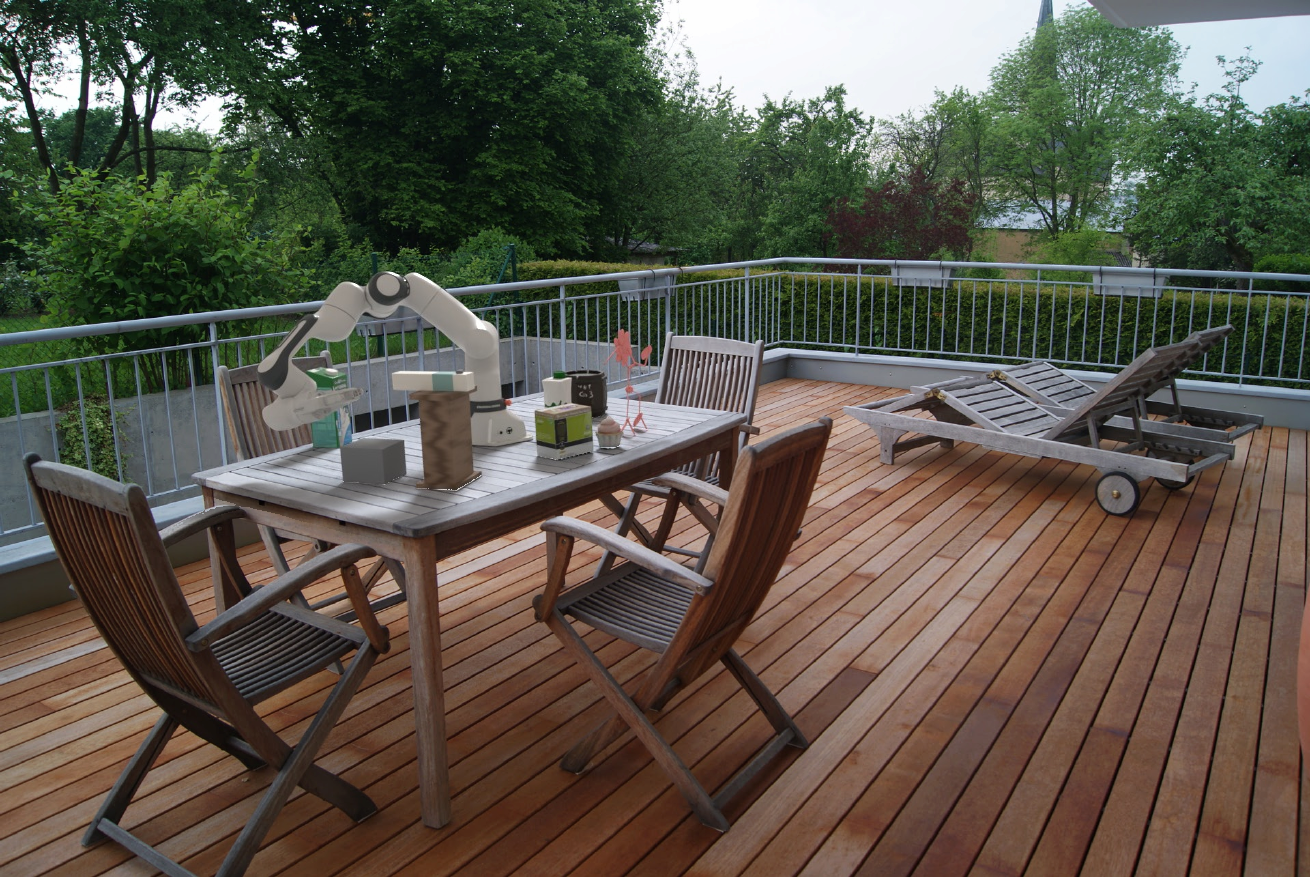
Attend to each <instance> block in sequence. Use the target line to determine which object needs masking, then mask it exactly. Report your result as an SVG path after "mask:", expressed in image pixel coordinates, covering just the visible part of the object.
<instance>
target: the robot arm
mask: <svg viewBox="0 0 1310 877" xmlns="http://www.w3.org/2000/svg"><path fill="white" fill-rule="evenodd" d="M400 306H402V307H407V308H409V309H411V310H413V311H414V312H415V313H416V314H418V315H419V317H421V318H422V319H424V320H426V321H427V322H428V323H429V324H431V325H432V326H433V327H435V328H436V329H437V330H438V331H440V332H441V333H442V334H443V335H445V336H446V337H447V338H448V339H449V340H450V341H451V342H452V343H453V344H454V345H456V346H457V347H458V348H460V349H461V350H462V351H463V352H464V372H474V385H477V391H476V392H473V393H471V394H469V398H470V416H471V433H472V446H487V447H488V446H489V447H500V446H504V445H511V444H516V443H520V442H526V441H532V440H533V439H534V436H533V433H531V432H529V431H527V429H526V425H525V422H524V420H523V419H522V418H521V417H520V416H518V415H517V414H516V413H514V412H513V411H511V410H510V409H508V407H511V406H512V404H513V402H512V400H510V399H509V398H507V399H506V398H503V397H502V394H501V391H502V390H501V376H500V375H501V374H500V373H501V370H500V367H501V366H500V347H499V346H500V343H499V342H500V341H499V332H498V330H497V328H496V327H495V326H494V325H493V323H491V322H489V321H486V320H481V319H480V318H478V316H476V314H474V313H473V312H472V311H471V310H469V309H468V308H467V307H466V306H465V305H464V304H463V303H462V302H461V301H459V300H458V299H457V298H455V297H454V296H453V295H451V293H449V292H448V291H446V290H445V289H443V288H442V287H441V286H440V285H438V284H437V283H435V281H432V280H430V279H429V278H427V277H425V276H423V275H421V274H420V273H417V272H409V273H408V274H405V275H403V274H397V273H395V272H392V271H386V270H384V271H383V270H382V271H379V272H377V273H375V274H374V275H373V276H372V277H370V279H369V281H368V282H367V285H364V286H362V285H359V284H357V283H354V282H351V281H343V282H340V283H338V285H337V286H336V287H335V288H334V289H333V290H332V291H331V292H330V294H328V296H327V298H326V300H324V302H323V303H322V306H321V307H320V308H319V310H318V311H316V312H315V313H308V314H306V315H304V316H303V317H302V318H300V320H298V322H297V323H296V324H294V326H293V327H292V328H291V329H290V330H289V331H288V332H287V334H286V335H285V336H284V337H283V339H281V341H280V342H279V343H278V344H277V345H276V346H275V347H274V348H273V350H272V351H271V352H269V353H268V354H267V355H266V356H265V357H264V358H263V359H262V360H260V362H259V363H258V364H257V367H256V378H257V382H258V384H259V385H261V386H262V387H264V388H265V389H268V390H269V391H272V392H273V393H274V394H275V395H277V398H276V399H275V400H274V401H272V403H270V404H268V405H266V406H265V407H264V408H263V410H262V411H261V412H262V418H263V421H264V422H265V424H266V425H267V426H268V427H269V428H270V429H272V430H274V431H281V432H282V431H287V430H291V429H295V428H298V427H301V426H302V425H304V424H305V425H308V424H311V423H312V422H315V421H319V420H322V419H324V418H325V417H327V416H328V415H329V414H331V413H333V412H336V411H338V410H339V409H338V408H341V407H343V406H346V405H348V404H349V405H350V404H352V403H355V402H357V401H358V400H359V399H360V398H361V397H360V396H362V395H364V394H365V391H364V389H363V388H357V387H349V388H347V389H342V390H336V391H332V390H325V391H321V390H317V384H316V382H315V381H314V380H313V379H311V378H310V377H309V376H308V375H306V372H303V371H302V370H300V368H299V367H297V366H296V365H295V364H293V361H292V360H293V357H294V356H295V355H296V354H297V353H298V351H299V350H300V349H301V348H302V347H303V345H304V344H305V343H306V342H307V341H308V340H310V339H312V338H314V339H318V340H321V341H325V342H330V343H334V342H336V343H339V342H342V341H344V340H346V339H348V338H349V336H350V335H351V334H352V332H353V330H354V329H355V327H356V325H357V324H358V322H359V320H360V318H361V317H362V316H363V317H364V316H365V317H368V318H370V319H374V320H378V321H383V320H386V319H388V318H390V317H392V316H393V315H394V314H395V312H396V311H397V309H398V308H399V307H400Z"/></svg>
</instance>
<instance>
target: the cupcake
mask: <svg viewBox="0 0 1310 877" xmlns="http://www.w3.org/2000/svg"><path fill="white" fill-rule="evenodd" d="M621 429H622V428H621V426H620V423H619V422H618V421H617V420H614V418H612V417H611V416H609V415H608V416H607V417H606V418H605V419H603V420H601V422H600V424H599V425H598V427H597V431H594V434H595V436H596V438H597V441H598V447H599V448H600V447H617V446H619V445H620V446H621V441H622V438H623V436H624V433H625V432H624V430H623V431H621ZM620 446H619V447H620Z"/></svg>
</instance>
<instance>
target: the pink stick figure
mask: <svg viewBox="0 0 1310 877" xmlns="http://www.w3.org/2000/svg"><path fill="white" fill-rule="evenodd" d="M630 336H631V335H630V331H625V330H624V329H623V328H622V329H619V330H618V331H617V338H616V337H614V339H613V344H614V347H615V348H614V351H612V352H611V354H610V356H608V358H607V359H606V360H605V362H604V363H603V365H605V366H606V364H607V362H608V361H609V360H610V359H611V358H612V357H613V356H614V354H616V357H615V362H616V363H621V366H622V367H625V366H626V367H627V386H625V390H624V391H625V392H626V397H627V407H626V408H627V409H626V419H625V422H624V423H623V425H622V426H621V427H622V428H620V429H621V431H623V432H624V430H625V428H626V427H627V425H629V427H630V430H631V431H632V434H633V435H634V434H636V432H635V431H634V428H635V427H636V426H637V425H638V424H639V423H640V422H642V424H643V426H644V429H645V430H646V429H648V427H647V425H646V423H645V421H644V419H643V412H641V397H642V396H641V393H639V392H637V391H634V387H633V386H632V385H629V384H630V371H631V370H632V368H634V367H635V366H641V367H644V368H645V367H646V366H647V362H648V358H649V356H650V354H652V352H653V347H652V345H650V344H649V345H648V346H645V348H644V349H643V350H642V352H640V358H641V360H642V361H643V360H645V361H644V364H642V363H638V362H636V361H635V359H634V357H633V351H632V347H631V342H630ZM629 357H630V358H631V360H632V362H633V363H631V365H629V364H628V359H629ZM633 393H634V394H636V395H638V396H639V402H638V403H639V406H638V414H637V415H636V417H635V418H634V420H633V424H631V422H630V417H629V416H628V415H629V401H630V399H629V394H633ZM653 427H656V425H653Z"/></svg>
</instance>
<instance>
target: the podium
mask: <svg viewBox="0 0 1310 877" xmlns="http://www.w3.org/2000/svg"><path fill="white" fill-rule="evenodd" d="M339 452H340V462H341V474H342V475H341V476H342V482H343V481H344V482H343V483H346V482H359V483H358V484H363V483H367V485H379V484H386V485H388V484H389V483H388V482H390V483H392V482H393V481H392V480H393V479H396V478H397V479H399V478H401V477H403V476H405V475H407V461H406V460H407V458H406V445H405V440H404V439H396V438H394V439H393V438H372V437H371V438H370V437H362V438H360V439H357V440H354V441H352V442H350V443H348V444H346V445H343V446H341V447H339ZM402 475H403V476H402ZM398 477H399V478H398ZM397 479H396V480H397ZM391 481H392V482H391ZM387 483H388V484H387Z"/></svg>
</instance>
